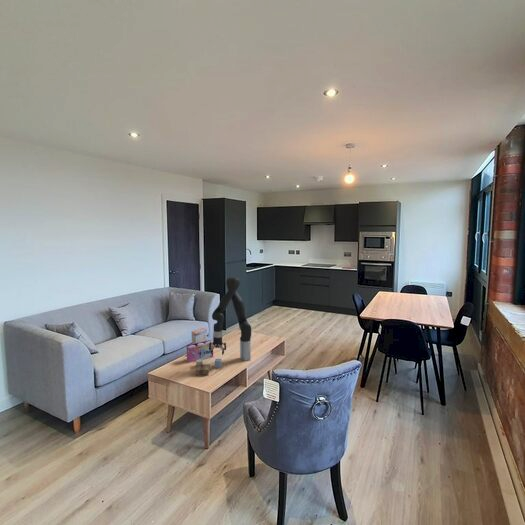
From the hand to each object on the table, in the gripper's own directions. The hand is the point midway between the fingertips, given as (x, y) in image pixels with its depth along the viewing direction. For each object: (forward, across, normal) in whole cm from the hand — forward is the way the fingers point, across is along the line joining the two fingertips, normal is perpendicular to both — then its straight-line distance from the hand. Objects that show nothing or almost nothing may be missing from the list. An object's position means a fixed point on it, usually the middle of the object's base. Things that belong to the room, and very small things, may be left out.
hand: (217, 354), depth 268 cm
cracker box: (+11, +22, -32) cm, 41 cm away
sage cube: (+11, +15, -1) cm, 19 cm away
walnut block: (+11, +10, +11) cm, 19 cm away
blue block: (+11, -1, 0) cm, 11 cm away
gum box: (+11, +18, -17) cm, 27 cm away
